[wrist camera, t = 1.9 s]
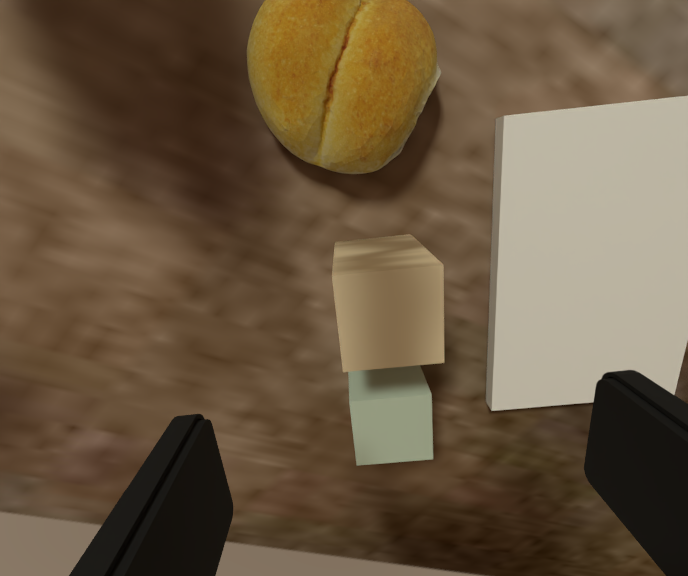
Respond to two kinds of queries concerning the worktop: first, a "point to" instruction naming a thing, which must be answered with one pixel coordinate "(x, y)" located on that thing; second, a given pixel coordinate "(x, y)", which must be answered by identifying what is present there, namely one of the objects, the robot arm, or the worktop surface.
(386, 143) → the bread roll
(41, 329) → the worktop surface
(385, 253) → the maple block
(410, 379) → the sage cube
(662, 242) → the ceramic tile
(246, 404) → the worktop surface
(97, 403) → the worktop surface
